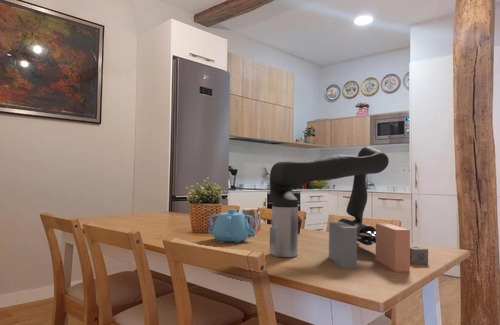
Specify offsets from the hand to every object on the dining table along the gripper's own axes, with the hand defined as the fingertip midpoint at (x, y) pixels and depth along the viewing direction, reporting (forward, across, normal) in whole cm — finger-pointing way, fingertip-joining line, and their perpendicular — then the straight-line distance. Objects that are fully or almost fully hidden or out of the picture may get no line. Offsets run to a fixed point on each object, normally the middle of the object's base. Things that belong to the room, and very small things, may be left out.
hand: (383, 241), depth 126 cm
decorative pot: (-34, +52, -6) cm, 62 cm away
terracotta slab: (+8, 0, -6) cm, 10 cm away
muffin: (-54, +22, -6) cm, 58 cm away
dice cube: (+4, -10, -6) cm, 13 cm away
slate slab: (+4, +16, -6) cm, 17 cm away
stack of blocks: (-58, +41, -7) cm, 71 cm away
